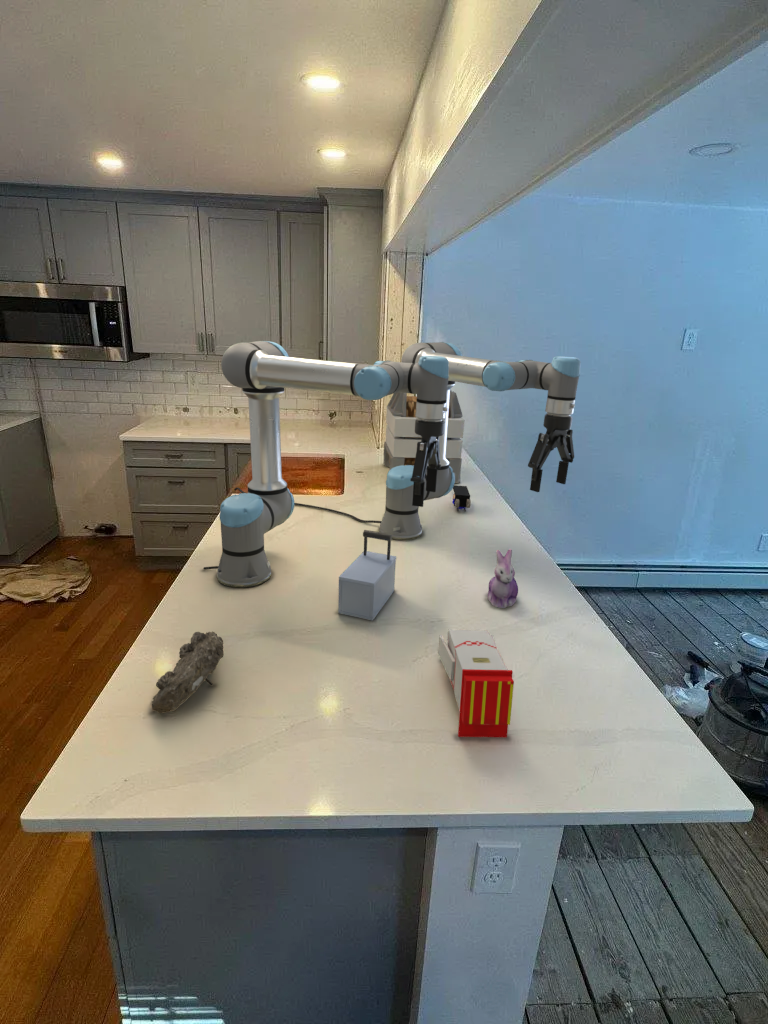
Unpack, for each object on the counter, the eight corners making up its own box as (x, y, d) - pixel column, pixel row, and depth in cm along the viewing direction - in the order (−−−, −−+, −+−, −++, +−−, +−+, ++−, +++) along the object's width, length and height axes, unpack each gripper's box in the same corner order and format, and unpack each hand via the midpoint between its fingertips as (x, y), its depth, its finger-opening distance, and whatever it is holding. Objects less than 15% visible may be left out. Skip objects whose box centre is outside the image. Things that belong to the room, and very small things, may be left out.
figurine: (500, 612, 150) (506, 561, 145) (477, 595, 159) (482, 546, 153) (527, 605, 154) (535, 555, 149) (504, 589, 163) (510, 541, 158)
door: (364, 553, 159) (365, 525, 157) (396, 559, 157) (397, 531, 154) (338, 579, 143) (339, 549, 141) (374, 586, 141) (375, 556, 138)
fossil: (177, 634, 126) (224, 603, 121) (207, 662, 129) (255, 633, 124) (129, 707, 107) (182, 674, 102) (165, 739, 110) (219, 708, 105)
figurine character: (470, 516, 223) (465, 500, 237) (473, 499, 220) (467, 484, 233) (453, 516, 223) (449, 500, 236) (455, 498, 220) (451, 483, 233)
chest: (362, 584, 162) (363, 553, 159) (394, 590, 160) (395, 559, 156) (338, 613, 147) (338, 579, 143) (372, 620, 144) (374, 586, 141)
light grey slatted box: (382, 463, 289) (386, 382, 275) (445, 464, 293) (451, 384, 279) (390, 482, 257) (394, 392, 243) (460, 483, 261) (468, 394, 247)
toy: (488, 613, 130) (523, 677, 101) (484, 667, 133) (517, 744, 104) (435, 612, 130) (455, 676, 101) (432, 666, 133) (451, 743, 103)
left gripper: (432, 429, 132) (426, 514, 139) (454, 413, 154) (448, 487, 161) (401, 426, 134) (397, 510, 141) (428, 410, 156) (423, 483, 164)
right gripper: (545, 420, 147) (534, 498, 155) (594, 412, 163) (581, 483, 171) (521, 415, 153) (511, 490, 160) (570, 408, 169) (560, 477, 176)
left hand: (424, 498), depth 151 cm, fingers open, 13 cm apart
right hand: (548, 487), depth 165 cm, fingers open, 13 cm apart
